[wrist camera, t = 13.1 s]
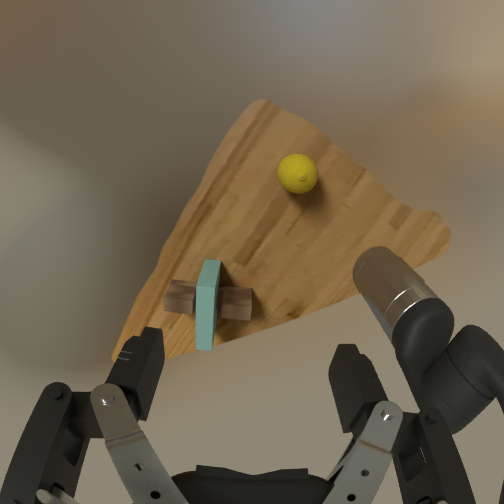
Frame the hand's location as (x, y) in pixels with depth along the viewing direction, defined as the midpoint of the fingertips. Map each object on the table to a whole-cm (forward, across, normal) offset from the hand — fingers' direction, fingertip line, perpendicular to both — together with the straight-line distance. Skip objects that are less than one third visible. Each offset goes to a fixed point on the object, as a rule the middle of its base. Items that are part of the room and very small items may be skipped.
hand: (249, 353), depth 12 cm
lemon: (+33, -6, -5) cm, 34 cm away
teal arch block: (+33, +5, +17) cm, 38 cm away
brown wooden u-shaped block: (+33, +5, +17) cm, 38 cm away
